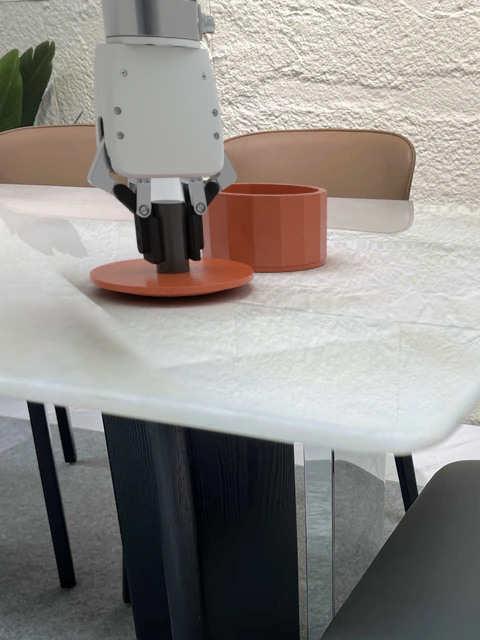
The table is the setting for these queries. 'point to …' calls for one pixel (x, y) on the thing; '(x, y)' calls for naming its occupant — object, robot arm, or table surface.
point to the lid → (171, 264)
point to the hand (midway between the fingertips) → (172, 258)
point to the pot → (268, 226)
